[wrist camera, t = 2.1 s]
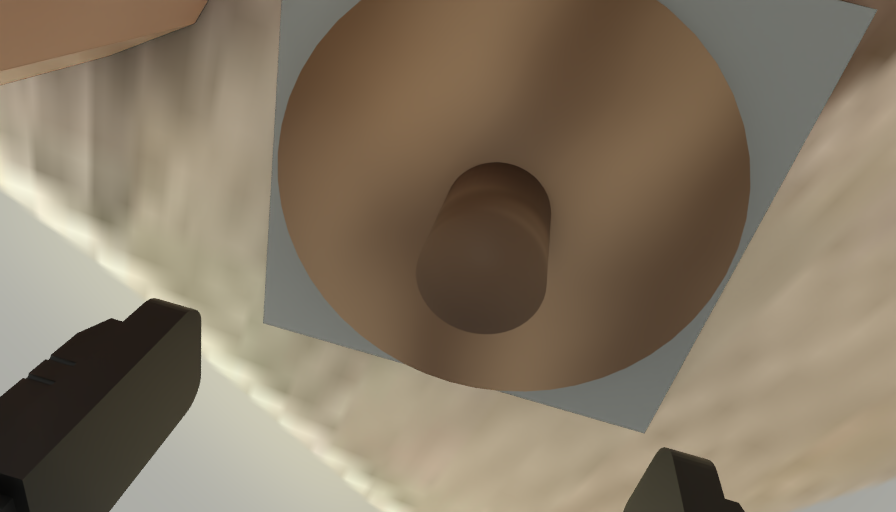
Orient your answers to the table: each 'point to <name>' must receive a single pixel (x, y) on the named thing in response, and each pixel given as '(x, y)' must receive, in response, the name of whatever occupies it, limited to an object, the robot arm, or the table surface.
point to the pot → (81, 30)
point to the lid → (514, 183)
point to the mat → (768, 138)
